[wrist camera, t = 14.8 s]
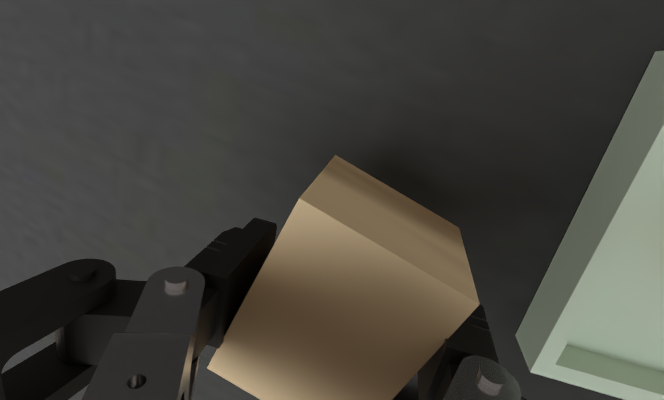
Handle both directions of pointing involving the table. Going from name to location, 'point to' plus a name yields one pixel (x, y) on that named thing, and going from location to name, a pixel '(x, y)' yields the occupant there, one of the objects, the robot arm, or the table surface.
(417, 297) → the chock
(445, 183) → the table surface
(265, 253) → the robot arm
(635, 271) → the tray
